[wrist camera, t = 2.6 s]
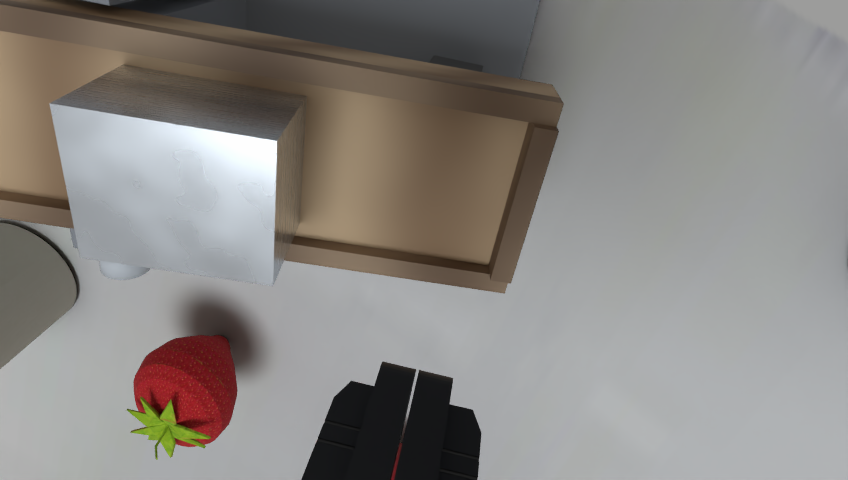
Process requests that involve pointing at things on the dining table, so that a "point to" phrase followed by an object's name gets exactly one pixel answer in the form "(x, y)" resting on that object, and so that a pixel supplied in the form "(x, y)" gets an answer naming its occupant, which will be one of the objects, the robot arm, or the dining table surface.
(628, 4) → the dining table surface
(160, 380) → the strawberry
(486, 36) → the pivot stand
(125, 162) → the block
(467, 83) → the beam
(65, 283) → the travel mug
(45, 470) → the dining table surface
